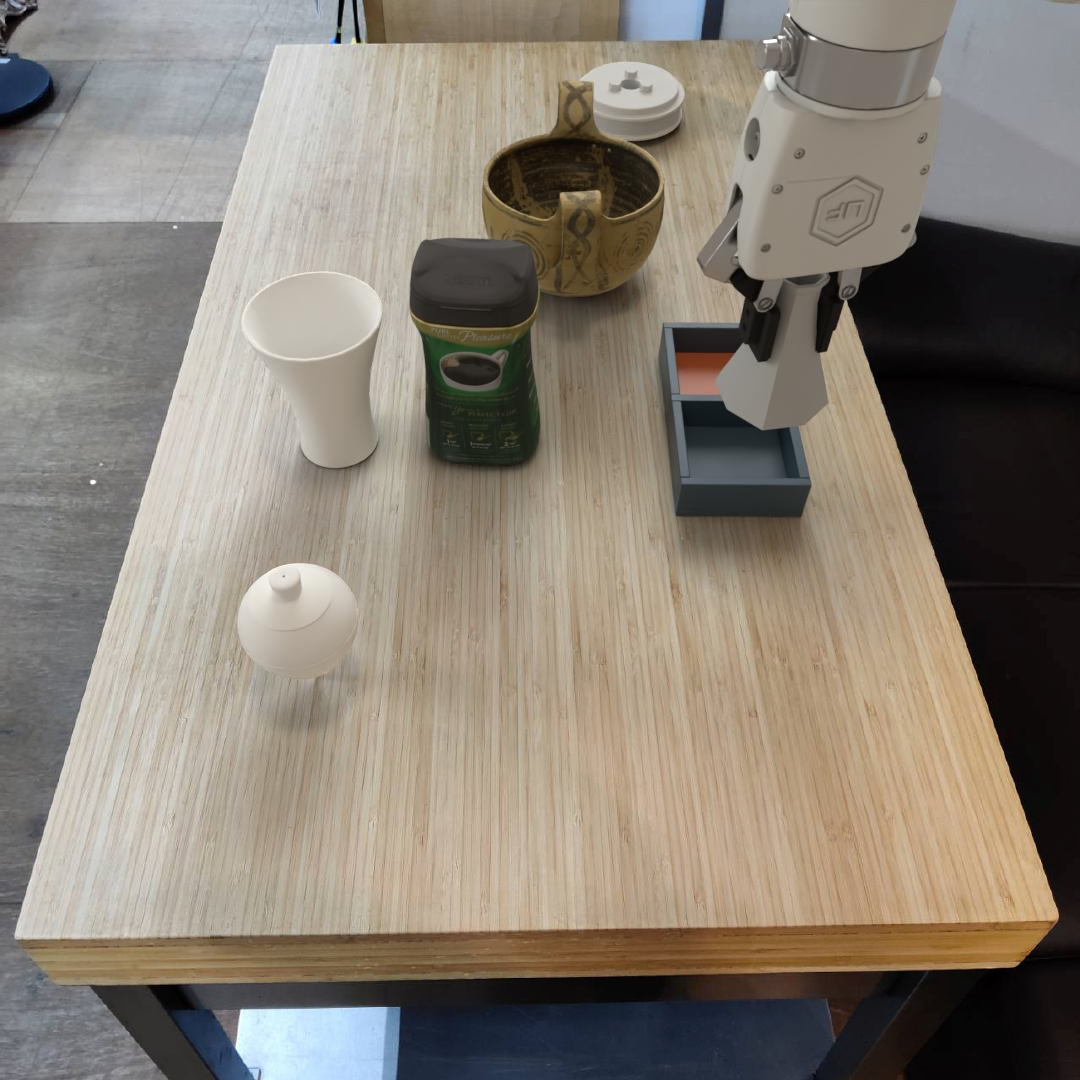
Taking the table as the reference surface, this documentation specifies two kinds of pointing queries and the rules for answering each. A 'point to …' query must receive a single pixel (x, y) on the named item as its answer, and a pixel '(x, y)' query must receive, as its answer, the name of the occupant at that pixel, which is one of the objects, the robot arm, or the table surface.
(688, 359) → the divided tray
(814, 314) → the flask
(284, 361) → the cup
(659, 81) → the lid
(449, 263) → the coffee jar
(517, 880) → the table surface
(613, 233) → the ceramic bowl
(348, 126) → the table surface
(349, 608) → the spinning top
